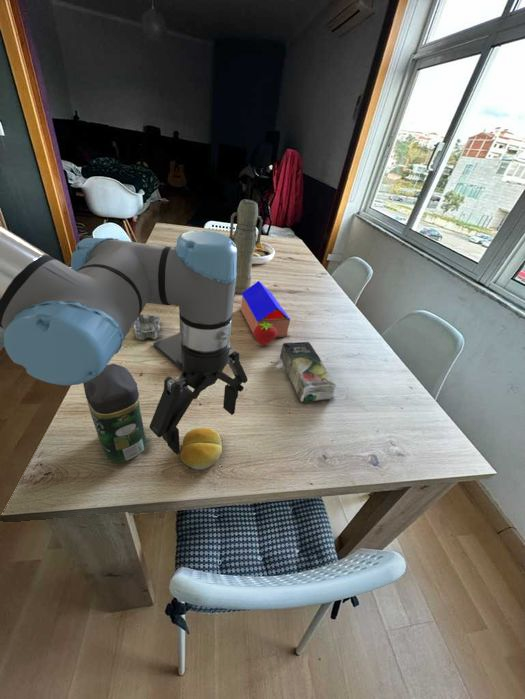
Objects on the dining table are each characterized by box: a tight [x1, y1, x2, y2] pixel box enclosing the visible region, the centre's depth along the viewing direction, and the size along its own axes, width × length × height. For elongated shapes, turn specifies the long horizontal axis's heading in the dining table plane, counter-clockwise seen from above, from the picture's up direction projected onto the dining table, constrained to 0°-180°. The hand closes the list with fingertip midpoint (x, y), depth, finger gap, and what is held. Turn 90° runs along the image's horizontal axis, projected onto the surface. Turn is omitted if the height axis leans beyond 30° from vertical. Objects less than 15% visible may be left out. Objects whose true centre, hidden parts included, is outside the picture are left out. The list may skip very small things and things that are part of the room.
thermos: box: [229, 198, 264, 295], centre depth 116 cm, size 9×12×35 cm
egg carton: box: [133, 313, 161, 341], centre depth 91 cm, size 11×8×4 cm
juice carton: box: [279, 341, 337, 403], centre depth 84 cm, size 20×10×6 cm, turn 15°
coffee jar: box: [82, 363, 147, 464], centre depth 55 cm, size 10×8×19 cm
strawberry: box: [253, 321, 277, 347], centre depth 92 cm, size 6×8×10 cm
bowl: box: [228, 234, 276, 265], centre depth 159 cm, size 30×30×8 cm
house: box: [240, 280, 291, 338], centre depth 104 cm, size 12×20×12 cm, turn 18°
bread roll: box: [179, 427, 223, 470], centre depth 60 cm, size 8×9×4 cm
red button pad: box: [153, 332, 183, 372], centre depth 87 cm, size 16×14×3 cm
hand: (203, 428), depth 57 cm, fingers open, 13 cm apart
